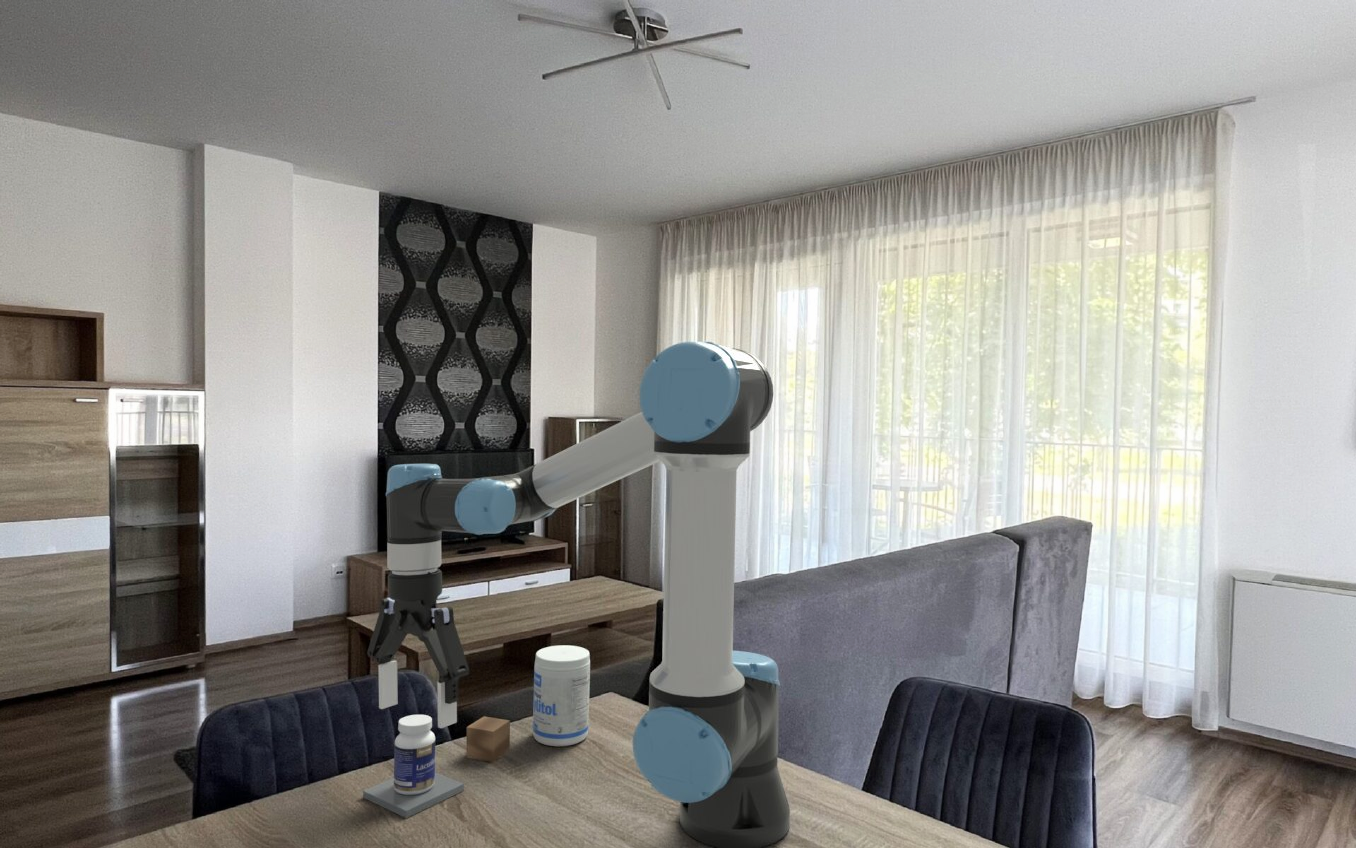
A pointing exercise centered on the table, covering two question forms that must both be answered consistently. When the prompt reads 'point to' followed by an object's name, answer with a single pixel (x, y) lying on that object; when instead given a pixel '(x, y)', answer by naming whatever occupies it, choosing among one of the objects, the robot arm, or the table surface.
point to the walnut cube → (488, 739)
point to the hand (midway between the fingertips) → (416, 715)
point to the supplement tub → (561, 695)
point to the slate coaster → (412, 803)
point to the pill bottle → (414, 755)
